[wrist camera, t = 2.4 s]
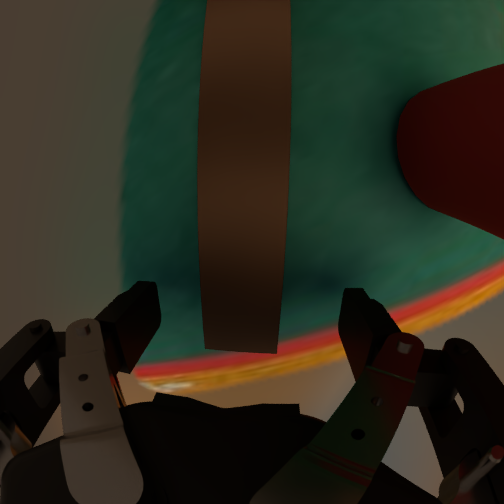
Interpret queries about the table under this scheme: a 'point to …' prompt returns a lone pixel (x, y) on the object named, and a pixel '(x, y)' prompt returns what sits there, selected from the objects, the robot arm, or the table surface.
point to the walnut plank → (243, 171)
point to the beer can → (458, 148)
